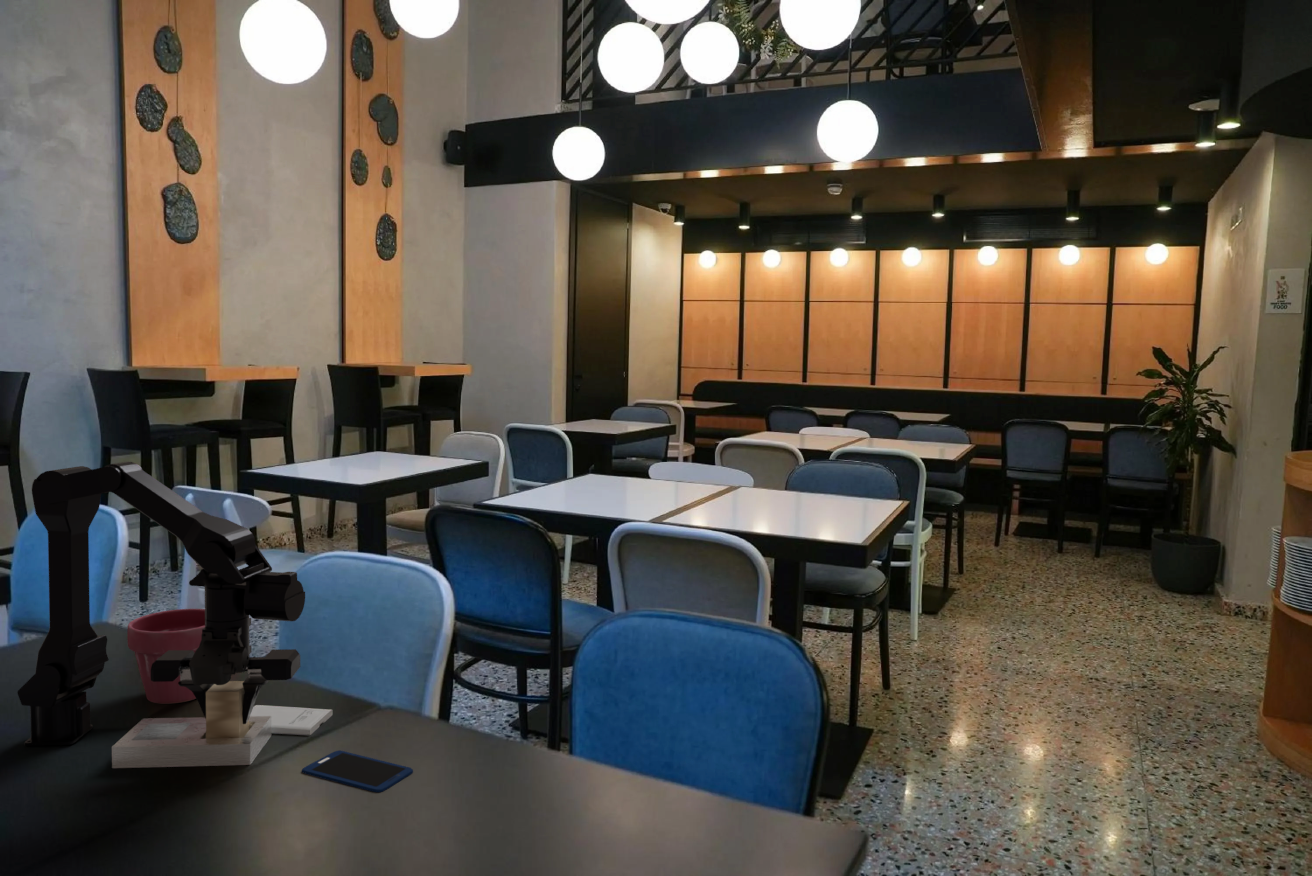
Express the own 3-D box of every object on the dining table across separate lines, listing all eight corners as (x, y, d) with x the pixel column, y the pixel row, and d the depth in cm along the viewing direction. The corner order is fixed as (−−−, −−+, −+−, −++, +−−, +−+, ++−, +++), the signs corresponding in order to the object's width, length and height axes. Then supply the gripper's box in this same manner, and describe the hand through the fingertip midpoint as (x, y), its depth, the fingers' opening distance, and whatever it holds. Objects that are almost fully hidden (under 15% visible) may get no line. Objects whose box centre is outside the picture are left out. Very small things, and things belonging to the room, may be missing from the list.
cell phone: (337, 754, 132) (337, 749, 132) (415, 773, 127) (415, 768, 126) (298, 774, 125) (298, 769, 125) (380, 796, 120) (380, 790, 120)
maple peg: (206, 750, 129) (205, 692, 128) (217, 738, 133) (216, 681, 132) (239, 750, 129) (238, 691, 129) (248, 737, 134) (248, 680, 133)
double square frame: (112, 767, 125) (111, 746, 124) (143, 738, 135) (143, 718, 134) (250, 764, 127) (250, 743, 127) (271, 735, 137) (271, 715, 137)
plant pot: (109, 698, 149) (108, 621, 148) (189, 674, 162) (188, 603, 161) (163, 717, 143) (162, 636, 142) (242, 690, 155) (242, 616, 154)
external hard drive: (257, 713, 146) (332, 717, 146) (230, 734, 138) (310, 738, 137) (257, 703, 146) (332, 707, 145) (229, 723, 138) (310, 727, 137)
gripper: (132, 633, 121) (134, 748, 122) (279, 632, 123) (280, 745, 124) (166, 610, 132) (167, 716, 133) (301, 610, 134) (301, 713, 135)
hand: (228, 723), depth 131 cm, fingers closed on maple peg, 4 cm apart
